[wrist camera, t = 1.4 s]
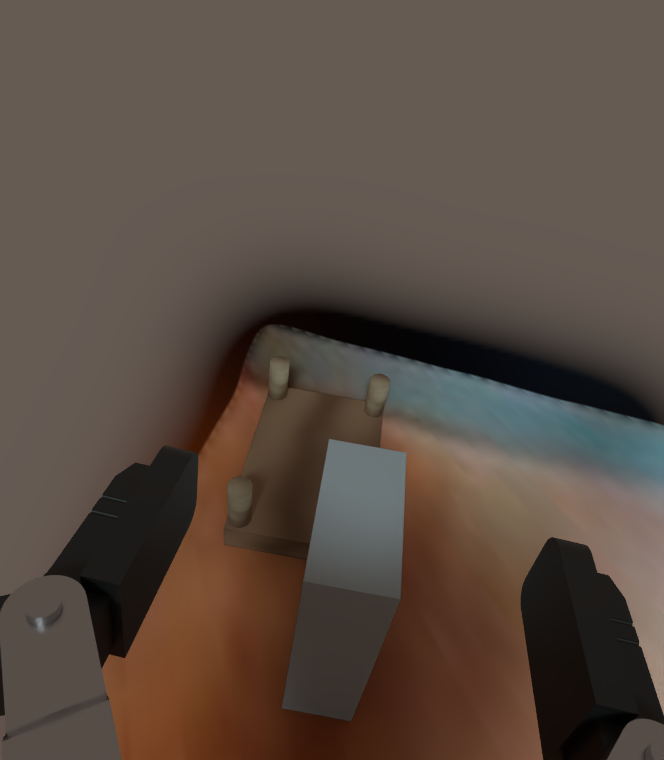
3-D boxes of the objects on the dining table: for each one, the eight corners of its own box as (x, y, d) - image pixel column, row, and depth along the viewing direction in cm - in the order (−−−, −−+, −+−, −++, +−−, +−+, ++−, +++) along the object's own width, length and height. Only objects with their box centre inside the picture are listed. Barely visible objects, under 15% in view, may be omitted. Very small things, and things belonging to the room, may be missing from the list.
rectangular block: (363, 590, 38) (406, 452, 29) (351, 721, 32) (400, 599, 23) (305, 580, 38) (329, 438, 29) (281, 708, 32) (303, 581, 23)
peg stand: (379, 420, 50) (390, 374, 47) (365, 570, 39) (379, 524, 35) (269, 400, 50) (273, 353, 47) (224, 544, 39) (223, 496, 35)
